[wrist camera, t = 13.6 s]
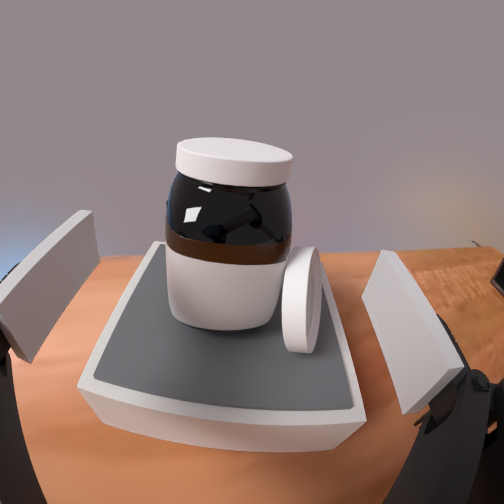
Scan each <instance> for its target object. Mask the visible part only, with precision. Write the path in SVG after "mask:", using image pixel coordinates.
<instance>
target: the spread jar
mask: <svg viewBox="0 0 504 504" xmlns="http://www.w3.org/2000/svg"><path fill="white" fill-rule="evenodd" d="M292 160H293V156H292V154H291V153H289V152H287V151H285V150H283V149H280V148H277V147H275V146H271V145H267V144H263V143H259V142H253V141H247V140H240V139H231V138H195V139H188V140H184V141H181V142H179V143H178V144H177V154H176V168H177V170H178V173H177V175H176V177H175V179H174V181H173V183H172V186H171V189H170V193H169V197H168V200H167V203H166V209H167V211H166V234H165V235H166V236H165V238H166V239H165V244H166V270H167V289H168V299H169V305H170V309H171V312H172V315H173V316H174V317H175V319H176V320H177V321H178V322H180V323H181V324H183V325H185V326H187V327H190V328H193V329H196V330H199V331H203V332H209V333H217V334H232V333H240V332H246V331H250V330H253V329H257V328H259V327H261V326H263V325H264V324H266V323H267V322H268V321H269V320H270V319H271V317H272V315H273V313H274V310H275V308H276V305H277V301H278V298H279V294H280V290H281V286H282V282H283V278H284V282H283V293H282V331H283V338H284V343H285V346H286V348H287V350H288V351H290V352H298V353H312V351H313V350H314V347H315V344H316V340H317V336H318V330H319V323H320V314H321V300H322V274H321V262H320V256H319V251H318V249H317V248H316V247H295V248H293V249H292V251H291V253H290V255H289V250H290V245H291V235H292V211H291V202H290V196H289V192H288V189H287V186H286V182H287V181H288V180H289V177H290V172H291V166H292ZM288 256H289V257H288ZM284 274H285V275H284Z"/></svg>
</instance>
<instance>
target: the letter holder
mask: <svg viewBox="0 0 504 504" xmlns="http://www.w3.org/2000/svg"><path fill="white" fill-rule="evenodd" d="M491 284H492V285H493V286H494V287H495V288H496V289H497V290H498V291H499V292H500V293H501V294H502V296H503V297H504V258H503V260H502V262H501V263H500V265H499V267H498V269H497V271H496V273H495V275H494V276H493V278H492V280H491Z"/></svg>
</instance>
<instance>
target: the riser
mask: <svg viewBox="0 0 504 504" xmlns="http://www.w3.org/2000/svg"><path fill="white" fill-rule="evenodd" d="M321 274H322V300H321V314H320V323H319V330H318V336H317V340H316V344H315V347H314V350H313V351H312V353H298V352H290V351H288V350H287V348H286V346H285V343H284V338H283V331H282V293H283V282H284V278H283V282H282V286H281V290H280V294H279V298H278V301H277V305H276V308H275V310H274V313H273V315H272V317H271V319H270V320H269V321H268V322H267V323H266V324H264V325H263V326H261V327H259V328H257V329H253V330H250V331H246V332H240V333H232V334H217V333H209V332H203V331H199V330H196V329H193V328H190V327H187V326H185V325H183V324H181V323H180V322H178V321H177V320H176V319H175V317H174V316H173V315H172V312H171V309H170V305H169V299H168V289H167V270H166V244H165V242H157V241H154V243H153V244H152V246H151V247H150V249H149V251H148V252H147V254H146V255H145V257H144V259H143V260H142V262H141V264H140V265H139V267H138V269H137V270H136V272H135V274H134V275H133V277H132V279H131V280H130V282H129V284H128V286H127V287H126V289H125V291H124V293H123V294H122V296H121V298H120V300H119V302H118V303H117V305H116V307H115V309H114V311H113V313H112V314H111V316H110V318H109V320H108V322H107V324H106V326H105V328H104V330H103V332H102V334H101V336H100V338H99V340H98V342H97V344H96V346H95V348H94V350H93V352H92V354H91V356H90V358H89V360H88V362H87V364H86V367H85V369H84V371H83V373H82V375H81V378H80V380H79V382H78V384H77V388H78V390H79V391H80V393H81V394H82V396H83V397H84V398H85V400H86V401H87V403H88V404H89V405H90V407H91V408H92V409H93V411H94V412H95V413H96V415H97V416H98V417H99V419H100V420H101V421H102V422H103V423H104V424H107V425H110V426H113V427H116V428H119V429H122V430H126V431H129V432H133V433H137V434H140V435H144V436H148V437H153V438H157V439H161V440H166V441H171V442H176V443H181V444H187V445H193V446H200V447H207V448H215V449H224V450H235V451H250V452H311V451H326V450H333V449H334V448H336V447H337V446H338V445H339V444H341V443H342V442H343V441H344V440H345V439H347V438H348V437H349V436H350V435H351V434H353V433H354V432H355V431H356V430H357V429H358V428H360V427H361V426H362V425H363V424H364V423H365V422H366V421H367V419H366V414H365V410H364V406H363V401H362V397H361V393H360V389H359V385H358V381H357V377H356V373H355V369H354V365H353V362H352V358H351V354H350V351H349V347H348V343H347V340H346V336H345V333H344V329H343V326H342V323H341V319H340V316H339V313H338V309H337V306H336V303H335V300H334V297H333V293H332V290H331V287H330V284H329V281H328V278H327V275H326V272H325V269H324V266H323V263H321ZM284 275H285V274H284Z"/></svg>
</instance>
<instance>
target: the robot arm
mask: <svg viewBox="0 0 504 504" xmlns="http://www.w3.org/2000/svg"><path fill="white" fill-rule="evenodd" d="M99 263H100V258H99V253H98V247H97V241H96V234H95V227H94V219H93V212H92V211H86V210H79V211H78V212H77V213H76V214H74V215H73V216H72V217H70V218H69V219H68V220H67V221H66V222H64V223H63V224H62V225H61V226H60V227H58V229H56V230H55V231H54V232H53V233H51V234H50V235H49V236H48V237H47V238H46V239H45V240H44V241H43V242H42V243H40V244H39V245H38V246H37V247H36V248H35V249H34V250H33V251H32V252H31V253H30V254H29V255H28V256H27V257H26V258H25V259H24V260H23V261H21V262H20V263H18V264H17V265H15V266H14V267H13V268H12V269H11V270H10V271H9V272H8V275H5V277H4V278H3V279H2V281H0V504H47V501H46V499H45V497H44V495H43V492H42V490H41V487H40V485H39V482H38V480H37V477H36V474H35V472H34V469H33V466H32V463H31V460H30V457H29V454H28V450H27V447H26V443H25V440H24V436H23V432H22V428H21V423H20V419H19V414H18V409H17V403H16V397H15V391H14V384H13V375H12V365H11V358H10V355H9V353H8V351H9V349H10V347H11V348H12V349H13V351H14V352H15V354H16V356H17V357H18V358H20V359H22V360H24V361H26V362H28V363H30V364H31V363H32V361H33V359H34V357H35V356H36V354H37V352H38V351H39V349H40V347H41V346H42V344H43V342H44V341H45V339H46V338H47V336H48V334H49V333H50V331H51V330H52V328H53V327H54V325H55V323H56V322H57V320H58V319H59V317H60V316H61V314H62V313H63V312H64V310H65V309H66V307H67V306H68V304H69V303H70V301H71V300H72V299H73V297H74V296H75V294H76V293H77V292H78V290H79V289H80V288H81V286H82V285H83V283H84V282H85V281H86V279H87V278H88V277H89V276H90V274H91V273H92V272H93V270H94V269H95V268H96V266H97V265H98V264H99ZM362 300H363V302H364V304H365V307H366V309H367V312H368V314H369V317H370V319H371V322H372V325H373V327H374V330H375V332H376V335H377V338H378V341H379V343H380V346H381V349H382V352H383V354H384V357H385V360H386V363H387V366H388V369H389V372H390V375H391V378H392V381H393V384H394V387H395V390H396V394H397V397H398V400H399V404H400V407H401V410H402V414H403V415H406V414H412V413H417V412H419V411H420V410H422V409H423V408H424V407H425V406H426V405H427V404H429V407H430V410H429V411H428V412H427V413H426V414H425V415H423V416H422V417H421V418H420V419H419V420H417V421H416V422H415V424H414V426H417V425H418V424H419V423H421V422H422V421H423V422H422V425H421V426H420V427H419V429H420V430H419V433H418V435H417V437H416V440H415V442H414V444H413V447H412V449H411V451H410V453H409V456H408V458H407V460H406V462H405V464H404V466H403V468H402V470H401V472H400V474H399V476H398V477H397V479H396V481H395V483H394V485H393V487H392V488H391V490H390V492H389V494H388V495H387V497H386V499H385V500H384V502H383V503H382V504H504V378H503V379H502V380H501V382H500V383H499V384H493V383H490V382H489V380H488V378H487V377H486V375H485V374H484V373H482V372H481V371H479V370H477V369H472V370H471V369H470V367H469V365H468V363H467V361H466V359H465V357H464V355H463V353H462V351H461V349H460V348H459V346H458V344H457V342H455V338H454V337H453V335H452V334H451V331H450V330H449V328H448V326H447V324H446V323H445V322H444V321H443V319H442V318H441V317H440V316H439V315H438V314H436V313H435V312H434V310H433V308H432V307H431V305H430V303H429V302H428V300H427V299H426V297H425V295H424V294H423V292H422V291H421V289H420V288H419V286H418V284H417V283H416V281H415V280H414V278H413V277H412V275H411V274H410V273H409V271H408V270H407V268H406V267H405V265H404V264H403V262H402V261H401V260H400V258H399V257H398V255H397V254H396V253H395V252H392V251H386V250H381V253H380V255H379V258H378V260H377V262H376V265H375V267H374V270H373V272H372V274H371V277H370V279H369V281H368V283H367V286H366V288H365V290H364V292H363V294H362ZM496 421H497V428H496V429H495V430H493V431H492V432H491V433H489V434H488V428H489V427H490V426H491V425H493V424H494V423H495V422H496Z"/></svg>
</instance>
